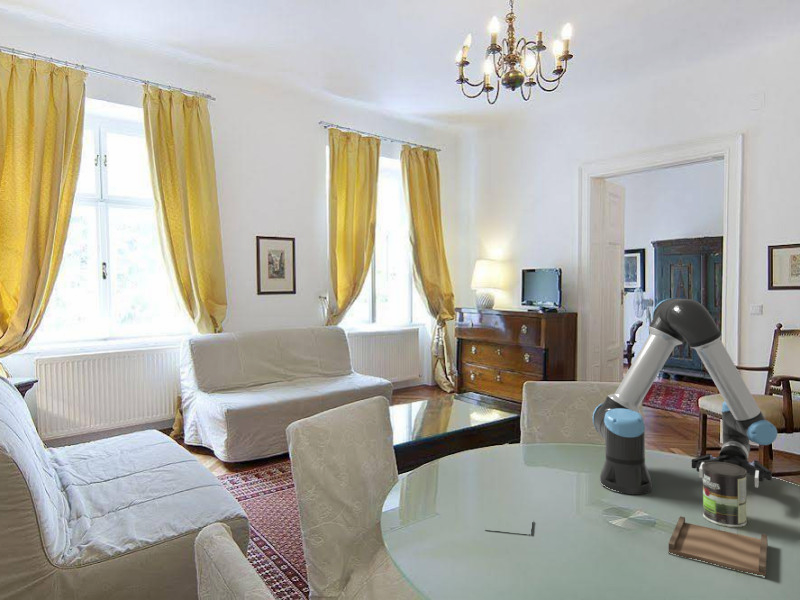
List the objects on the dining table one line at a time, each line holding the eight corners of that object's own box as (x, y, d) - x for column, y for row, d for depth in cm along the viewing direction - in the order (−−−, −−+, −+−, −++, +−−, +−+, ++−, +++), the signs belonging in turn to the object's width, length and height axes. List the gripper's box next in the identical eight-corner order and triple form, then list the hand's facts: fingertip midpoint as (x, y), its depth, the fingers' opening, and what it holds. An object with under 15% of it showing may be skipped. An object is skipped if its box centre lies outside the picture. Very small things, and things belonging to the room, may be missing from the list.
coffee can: (720, 529, 135) (719, 476, 135) (694, 512, 146) (693, 462, 145) (757, 526, 136) (756, 473, 136) (729, 509, 146) (728, 460, 146)
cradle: (765, 578, 113) (765, 566, 113) (668, 553, 124) (668, 543, 124) (767, 545, 126) (767, 534, 126) (680, 525, 138) (680, 516, 138)
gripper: (782, 475, 158) (781, 500, 141) (689, 461, 173) (679, 482, 156) (781, 451, 158) (781, 473, 141) (689, 439, 173) (678, 457, 156)
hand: (727, 477), depth 148 cm, fingers open, 13 cm apart
